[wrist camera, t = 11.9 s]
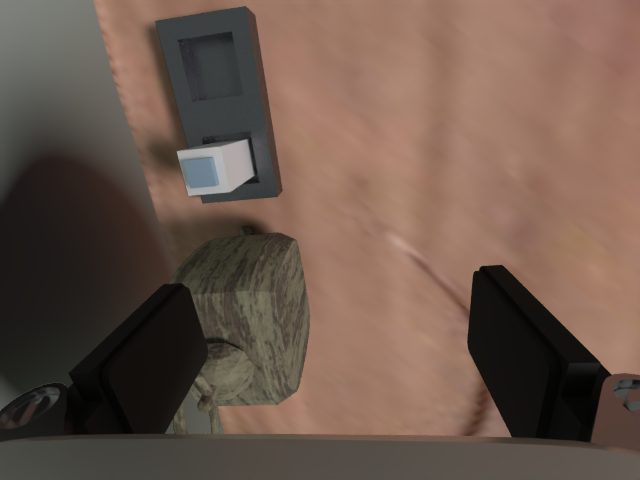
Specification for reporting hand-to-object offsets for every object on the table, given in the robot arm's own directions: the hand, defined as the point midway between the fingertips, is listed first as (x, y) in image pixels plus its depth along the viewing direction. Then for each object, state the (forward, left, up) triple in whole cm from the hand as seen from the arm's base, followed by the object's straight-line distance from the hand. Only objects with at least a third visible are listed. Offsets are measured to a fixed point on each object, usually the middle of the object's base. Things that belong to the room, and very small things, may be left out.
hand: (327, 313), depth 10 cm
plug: (-2, -12, -27) cm, 30 cm away
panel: (-7, -12, -28) cm, 32 cm away
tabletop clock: (+12, -10, -28) cm, 32 cm away
